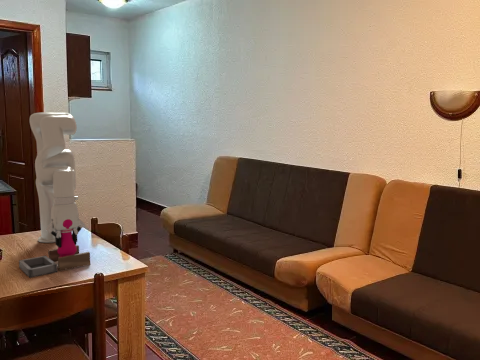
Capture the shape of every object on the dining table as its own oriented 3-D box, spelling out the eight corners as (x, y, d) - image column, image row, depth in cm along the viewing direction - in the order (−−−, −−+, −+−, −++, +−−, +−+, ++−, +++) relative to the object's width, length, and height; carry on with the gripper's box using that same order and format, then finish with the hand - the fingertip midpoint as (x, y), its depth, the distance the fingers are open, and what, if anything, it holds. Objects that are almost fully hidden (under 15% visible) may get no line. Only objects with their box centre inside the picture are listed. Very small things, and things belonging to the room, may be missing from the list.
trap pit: (19, 267, 180) (18, 260, 179) (45, 262, 186) (45, 255, 186) (29, 277, 169) (29, 270, 169) (57, 272, 175) (57, 264, 175)
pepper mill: (70, 264, 181) (68, 214, 178) (54, 262, 182) (51, 213, 179) (80, 258, 188) (78, 210, 185) (64, 257, 189) (61, 209, 186)
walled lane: (48, 262, 186) (48, 250, 186) (78, 256, 194) (77, 245, 193) (59, 271, 176) (58, 258, 176) (90, 264, 184) (89, 252, 183)
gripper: (82, 196, 189) (84, 239, 192) (38, 201, 179) (41, 247, 181) (89, 199, 184) (91, 243, 186) (44, 204, 173) (47, 251, 176)
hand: (66, 244), depth 184 cm, fingers closed on pepper mill, 5 cm apart
